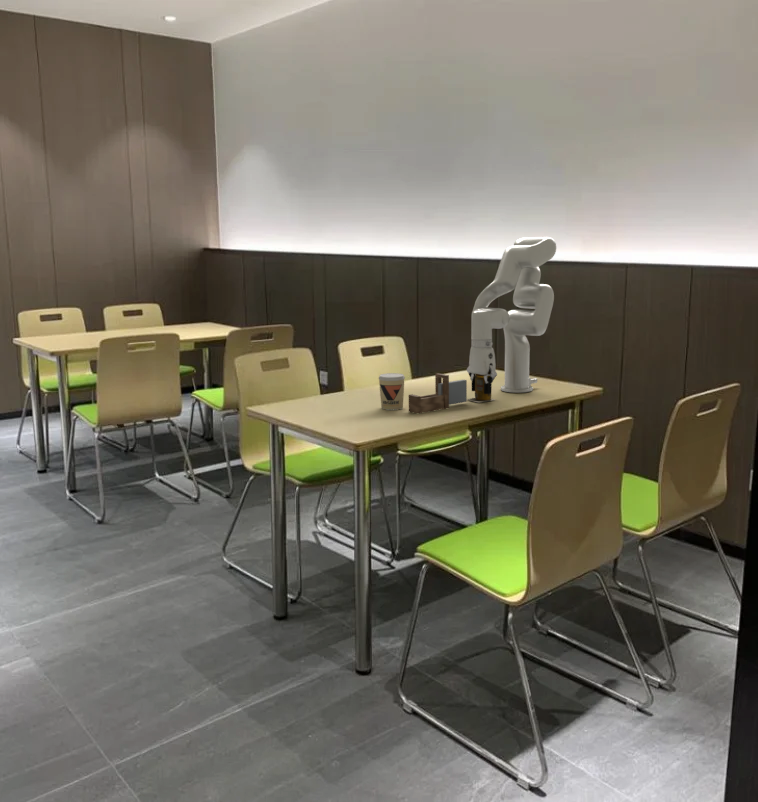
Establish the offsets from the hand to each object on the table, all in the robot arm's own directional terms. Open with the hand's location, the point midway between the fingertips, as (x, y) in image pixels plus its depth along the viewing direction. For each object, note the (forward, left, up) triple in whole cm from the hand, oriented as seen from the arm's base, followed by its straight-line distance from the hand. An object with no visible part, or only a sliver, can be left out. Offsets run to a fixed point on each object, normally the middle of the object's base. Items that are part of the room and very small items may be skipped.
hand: (481, 391), depth 293 cm
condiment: (0, 0, -3) cm, 3 cm away
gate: (+14, 0, -3) cm, 14 cm away
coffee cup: (+33, -11, -4) cm, 35 cm away
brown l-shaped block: (+24, 0, -3) cm, 24 cm away
